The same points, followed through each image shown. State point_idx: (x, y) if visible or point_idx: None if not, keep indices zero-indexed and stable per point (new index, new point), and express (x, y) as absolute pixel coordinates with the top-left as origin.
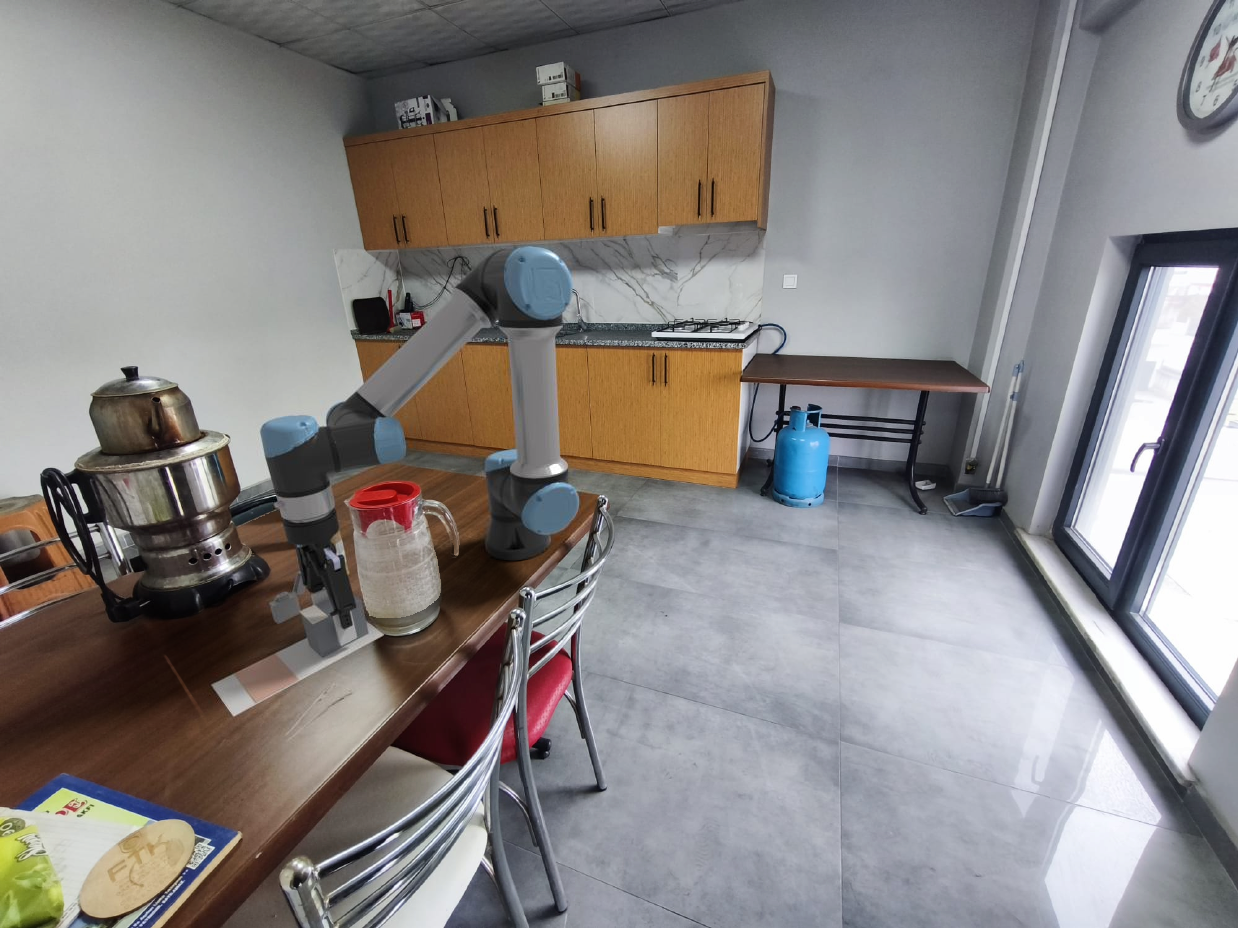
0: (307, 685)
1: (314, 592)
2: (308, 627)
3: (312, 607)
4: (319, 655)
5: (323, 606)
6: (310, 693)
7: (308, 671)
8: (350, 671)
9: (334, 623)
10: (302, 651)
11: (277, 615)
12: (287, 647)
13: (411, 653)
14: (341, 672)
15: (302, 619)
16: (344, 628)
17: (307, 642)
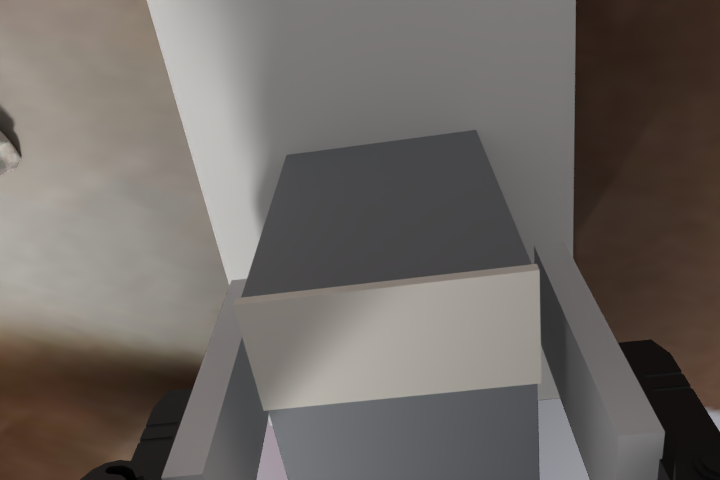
0: (94, 17)
1: (663, 464)
2: (401, 225)
3: (506, 362)
4: (324, 149)
5: (452, 419)
6: (5, 12)
7: (205, 57)
8: (85, 229)
9: (224, 386)
10: (444, 81)
11: None
12: (573, 13)
13: (62, 450)
14: (104, 194)
15: (514, 228)
16: (161, 400)
17: (519, 129)
